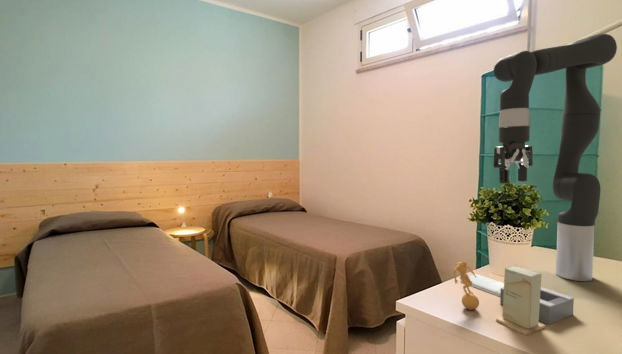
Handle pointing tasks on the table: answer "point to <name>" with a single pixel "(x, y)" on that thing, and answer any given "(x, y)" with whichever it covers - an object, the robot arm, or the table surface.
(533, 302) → the skincare box
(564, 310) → the socket block
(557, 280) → the table surface
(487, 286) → the hard drive
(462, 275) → the figurine
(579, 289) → the table surface
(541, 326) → the cork coaster
